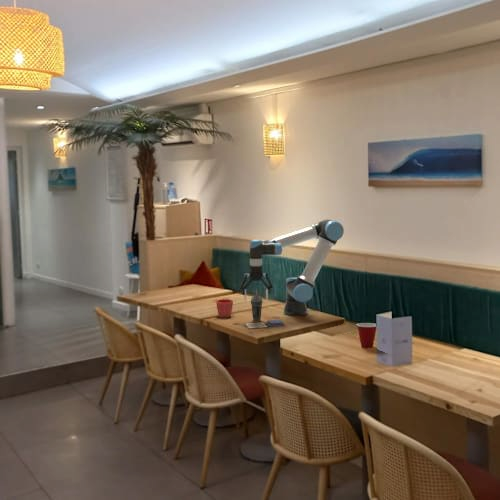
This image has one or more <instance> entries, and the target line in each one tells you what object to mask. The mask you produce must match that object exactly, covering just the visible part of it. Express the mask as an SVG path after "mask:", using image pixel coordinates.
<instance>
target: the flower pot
mask: <svg viewBox="0 0 500 500" xmlns="http://www.w3.org/2000/svg"><path fill="white" fill-rule="evenodd" d="M215 302H216V308H217V314H218V315H217V316H218V317H221V318H228V317H229V318H230V317H231V316H232V311H233V305H234V300H232V299H218V300H216V301H215Z"/></svg>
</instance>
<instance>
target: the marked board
mask: <svg viewBox="0 0 500 500" xmlns="http://www.w3.org/2000/svg"><path fill="white" fill-rule="evenodd" d="M244 326H245V327H246V328H247V329H248V330H257V329H269V328H270V327H269V326H268V325H267V324H266V322H252V323H251V322H250V323H244Z"/></svg>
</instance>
